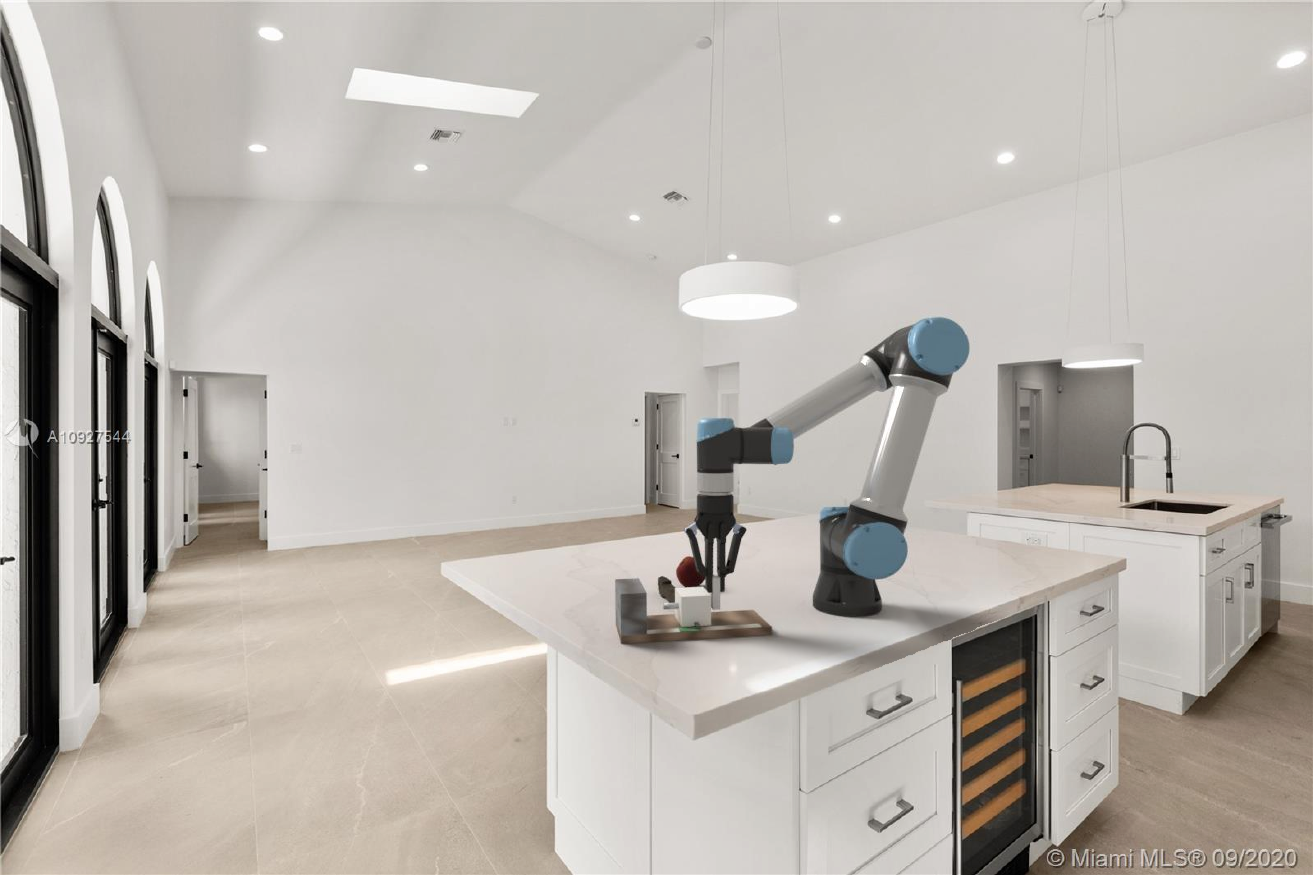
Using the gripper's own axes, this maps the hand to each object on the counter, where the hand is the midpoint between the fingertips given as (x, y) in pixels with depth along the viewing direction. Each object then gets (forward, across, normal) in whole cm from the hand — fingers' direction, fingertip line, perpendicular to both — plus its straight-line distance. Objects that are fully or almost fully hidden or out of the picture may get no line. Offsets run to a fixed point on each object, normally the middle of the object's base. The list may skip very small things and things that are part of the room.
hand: (715, 607), depth 129 cm
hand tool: (+5, +6, -21) cm, 22 cm away
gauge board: (+4, +5, 0) cm, 7 cm away
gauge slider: (+3, +6, +1) cm, 7 cm away
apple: (+4, -2, -33) cm, 33 cm away
